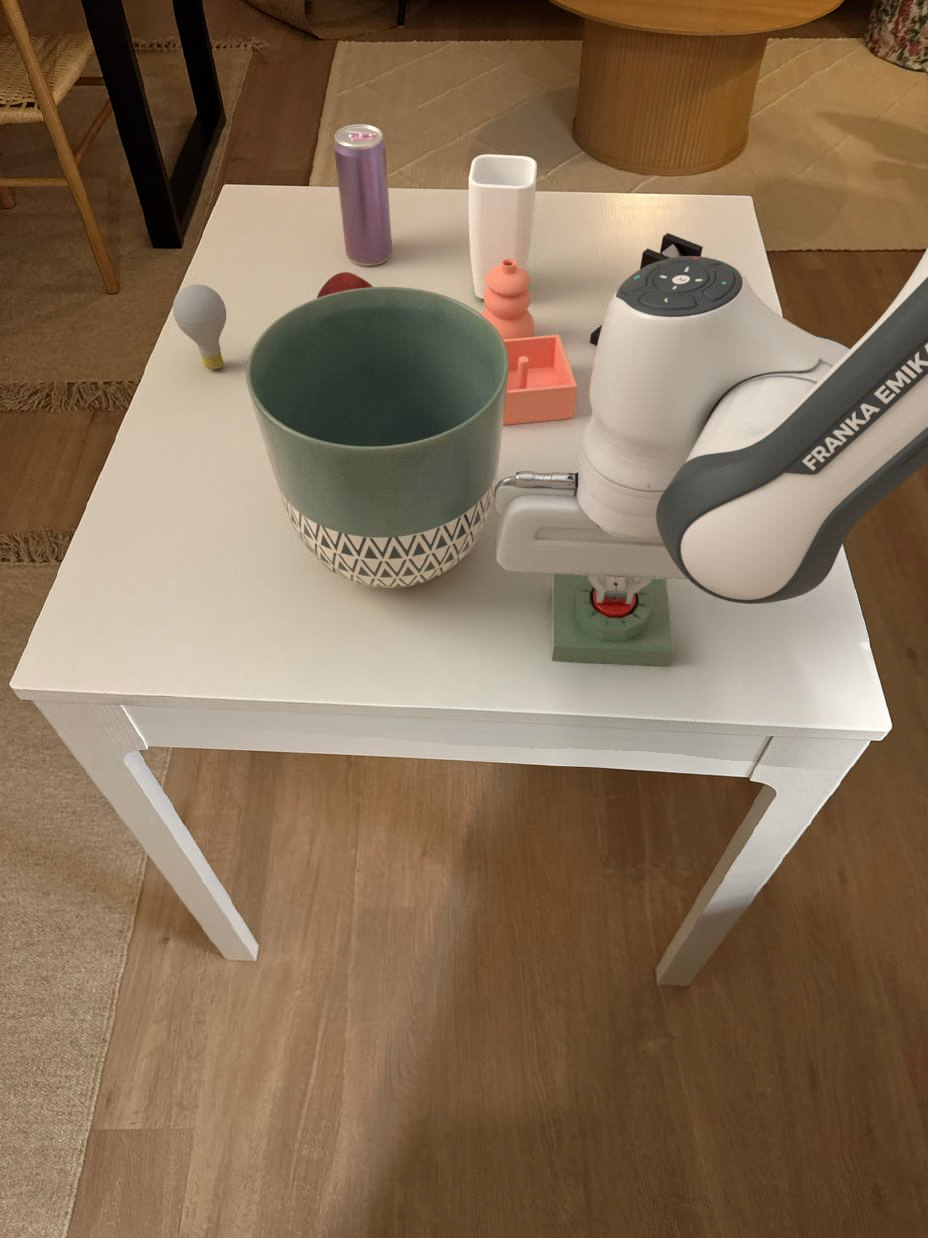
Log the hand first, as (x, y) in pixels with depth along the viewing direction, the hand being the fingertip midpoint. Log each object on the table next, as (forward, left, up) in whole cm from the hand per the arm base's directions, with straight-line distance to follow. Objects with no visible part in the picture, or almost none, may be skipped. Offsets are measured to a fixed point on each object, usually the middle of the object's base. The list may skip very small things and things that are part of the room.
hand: (613, 597), depth 76 cm
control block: (0, 0, -4) cm, 4 cm away
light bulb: (+23, -50, -4) cm, 55 cm away
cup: (-13, -51, -4) cm, 53 cm away
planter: (+14, -16, -4) cm, 22 cm away
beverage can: (-1, -65, -4) cm, 65 cm away
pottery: (-8, -36, -4) cm, 37 cm away
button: (0, 0, -2) cm, 2 cm away
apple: (+7, -49, -4) cm, 50 cm away
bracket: (-25, -34, -4) cm, 43 cm away
